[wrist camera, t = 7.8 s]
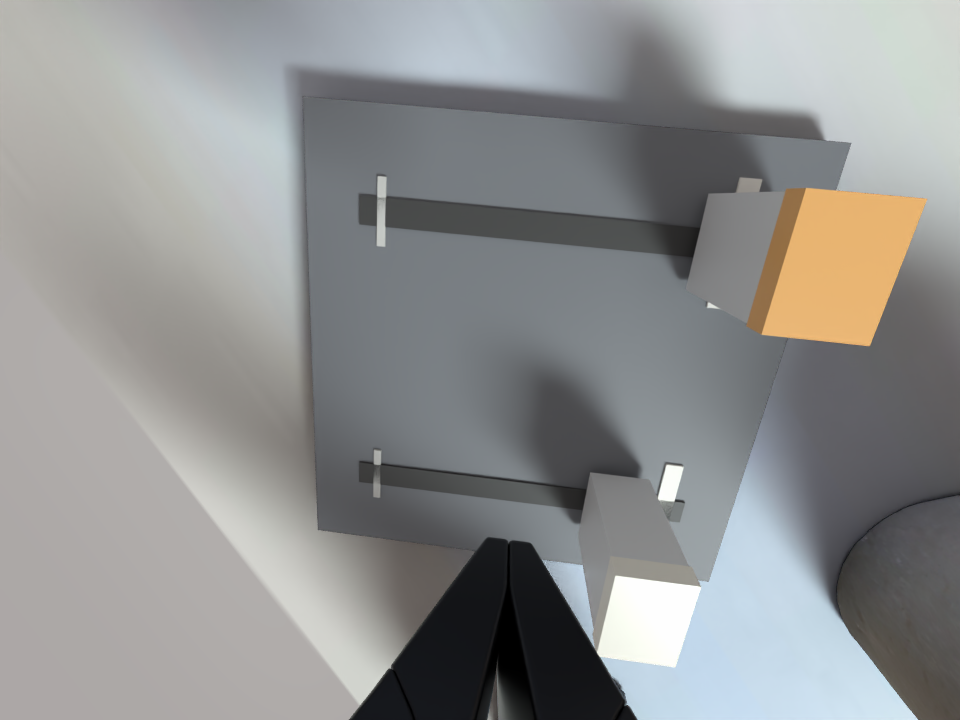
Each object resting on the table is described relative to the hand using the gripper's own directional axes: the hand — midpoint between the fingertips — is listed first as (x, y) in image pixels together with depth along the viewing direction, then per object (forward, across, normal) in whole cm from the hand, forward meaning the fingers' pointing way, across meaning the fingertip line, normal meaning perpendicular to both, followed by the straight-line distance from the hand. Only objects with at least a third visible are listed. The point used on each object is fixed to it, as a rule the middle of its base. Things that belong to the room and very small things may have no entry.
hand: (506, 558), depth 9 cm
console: (+11, -1, 0) cm, 11 cm away
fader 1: (+10, -5, +5) cm, 12 cm away
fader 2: (+10, -7, -6) cm, 13 cm away
